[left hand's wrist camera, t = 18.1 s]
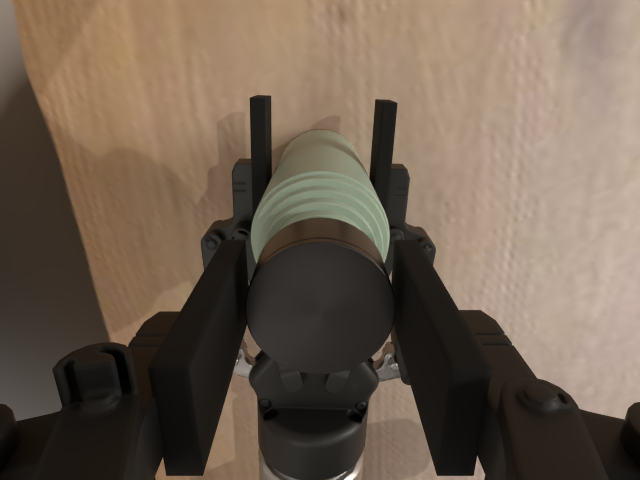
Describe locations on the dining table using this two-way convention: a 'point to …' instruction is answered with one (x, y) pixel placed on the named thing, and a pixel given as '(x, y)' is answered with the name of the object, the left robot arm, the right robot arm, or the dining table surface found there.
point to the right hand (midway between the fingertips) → (323, 99)
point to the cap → (320, 297)
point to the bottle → (320, 190)
